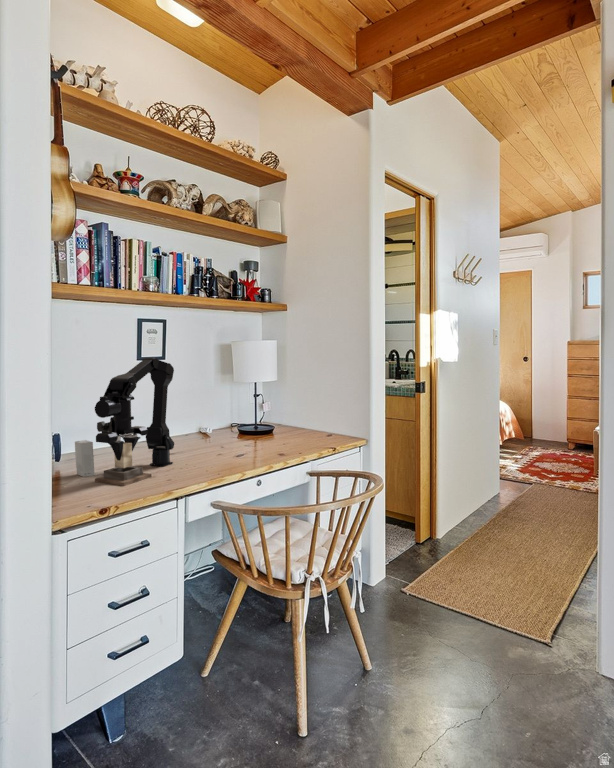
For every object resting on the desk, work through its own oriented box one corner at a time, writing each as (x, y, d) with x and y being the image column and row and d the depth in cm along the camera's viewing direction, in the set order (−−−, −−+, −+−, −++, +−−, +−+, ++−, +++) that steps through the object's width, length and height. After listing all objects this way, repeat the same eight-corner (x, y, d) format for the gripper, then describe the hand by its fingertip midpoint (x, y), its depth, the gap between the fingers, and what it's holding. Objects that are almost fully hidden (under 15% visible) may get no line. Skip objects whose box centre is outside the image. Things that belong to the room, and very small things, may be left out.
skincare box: (95, 475, 176) (94, 441, 175) (82, 477, 173) (81, 443, 172) (87, 472, 180) (86, 439, 180) (75, 474, 177) (74, 441, 176)
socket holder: (123, 473, 179) (122, 463, 179) (151, 476, 174) (151, 466, 174) (94, 481, 167) (94, 471, 167) (124, 485, 162) (124, 475, 162)
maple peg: (123, 464, 173) (122, 441, 173) (132, 465, 172) (131, 442, 171) (114, 466, 169) (114, 443, 169) (123, 468, 168) (123, 444, 167)
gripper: (124, 409, 181) (125, 452, 182) (82, 416, 164) (84, 462, 165) (148, 411, 177) (149, 454, 178) (108, 417, 160) (109, 465, 161)
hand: (123, 459), depth 170 cm, fingers closed on maple peg, 4 cm apart
